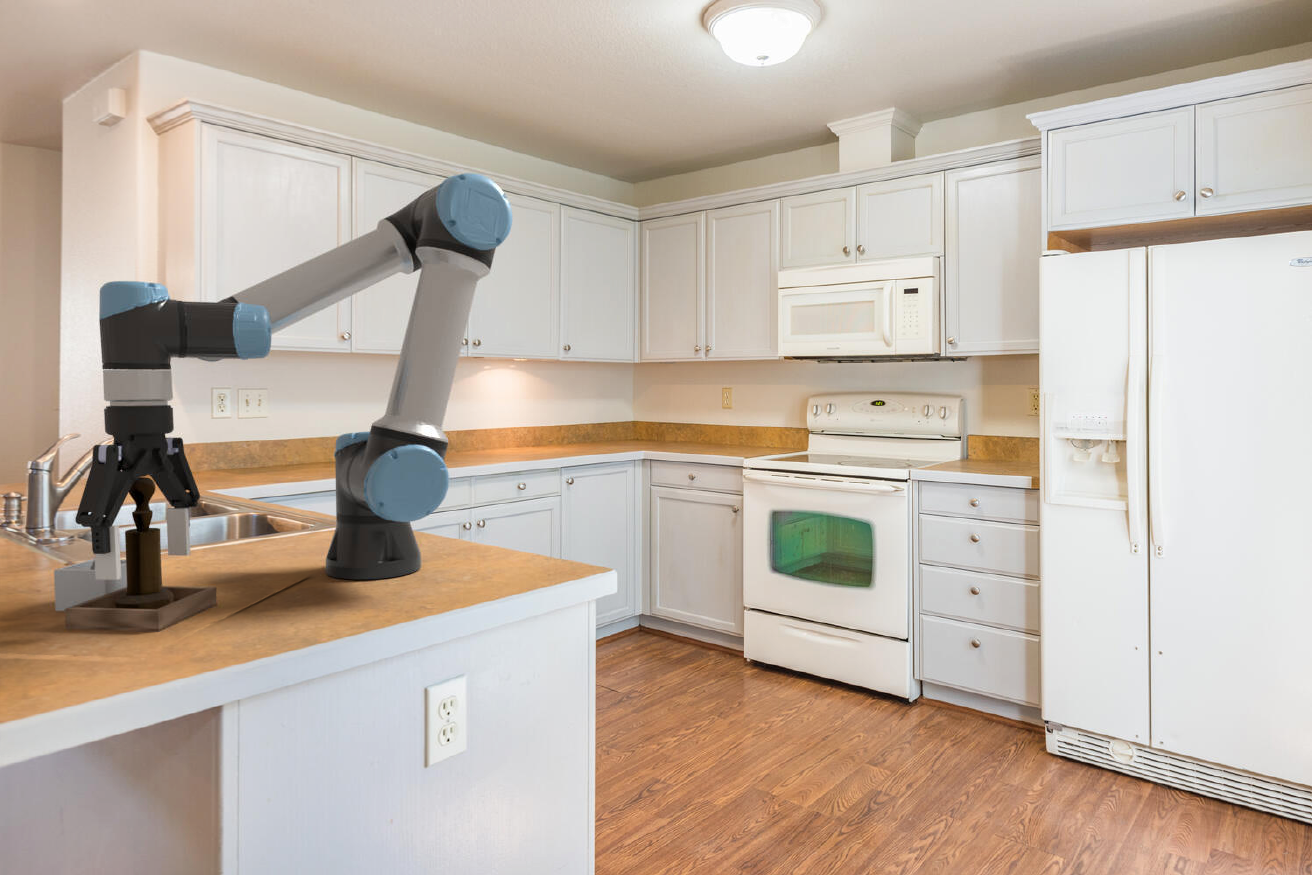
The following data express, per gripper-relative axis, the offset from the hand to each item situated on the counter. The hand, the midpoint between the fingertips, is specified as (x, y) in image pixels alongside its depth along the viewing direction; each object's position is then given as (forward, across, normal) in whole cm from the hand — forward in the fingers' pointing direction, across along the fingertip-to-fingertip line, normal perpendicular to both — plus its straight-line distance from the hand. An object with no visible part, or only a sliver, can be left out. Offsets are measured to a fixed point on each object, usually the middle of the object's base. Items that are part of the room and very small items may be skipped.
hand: (146, 566), depth 107 cm
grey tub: (+7, -5, -10) cm, 13 cm away
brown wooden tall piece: (+6, 0, 0) cm, 7 cm away
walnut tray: (+7, 0, 0) cm, 7 cm away
